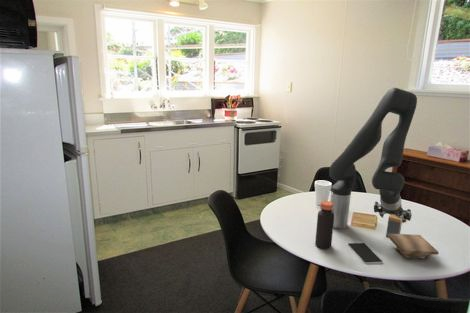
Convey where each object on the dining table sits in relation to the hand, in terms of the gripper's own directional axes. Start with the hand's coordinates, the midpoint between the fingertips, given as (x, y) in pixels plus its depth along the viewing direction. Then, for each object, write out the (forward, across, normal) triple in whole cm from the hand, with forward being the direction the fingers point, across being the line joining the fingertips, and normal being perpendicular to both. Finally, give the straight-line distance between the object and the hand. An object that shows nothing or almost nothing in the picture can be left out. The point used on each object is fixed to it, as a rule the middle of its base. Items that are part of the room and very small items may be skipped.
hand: (393, 218), depth 136 cm
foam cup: (+25, +42, -8) cm, 49 cm away
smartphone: (-3, +6, +21) cm, 22 cm away
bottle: (-7, +22, +24) cm, 33 cm away
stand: (+6, -9, +11) cm, 15 cm away
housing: (+14, 0, +3) cm, 14 cm away
